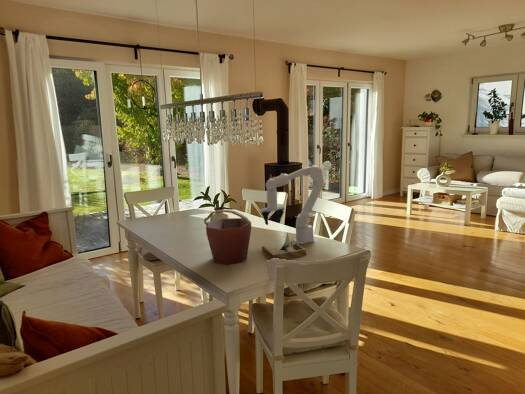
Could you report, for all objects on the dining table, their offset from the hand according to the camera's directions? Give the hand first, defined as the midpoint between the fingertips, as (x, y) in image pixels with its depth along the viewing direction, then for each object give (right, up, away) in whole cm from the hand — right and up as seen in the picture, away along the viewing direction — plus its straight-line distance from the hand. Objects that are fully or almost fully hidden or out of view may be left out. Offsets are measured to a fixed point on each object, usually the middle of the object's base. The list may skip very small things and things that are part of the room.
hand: (272, 223), depth 213 cm
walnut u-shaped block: (+5, -14, -19) cm, 24 cm away
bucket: (-22, -16, -23) cm, 36 cm away
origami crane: (+9, -14, -19) cm, 25 cm away
